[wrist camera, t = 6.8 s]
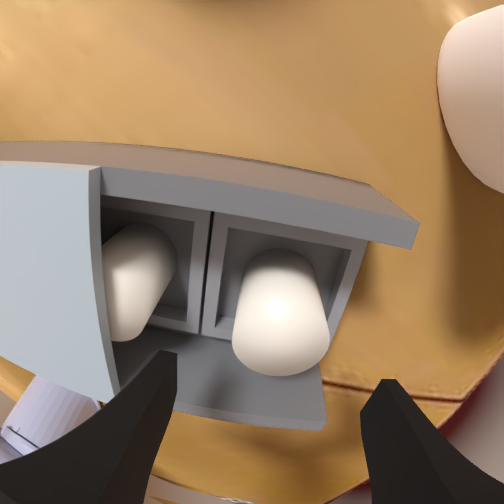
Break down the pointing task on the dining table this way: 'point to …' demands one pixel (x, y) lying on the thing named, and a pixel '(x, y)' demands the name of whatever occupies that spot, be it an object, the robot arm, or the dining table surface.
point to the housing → (230, 261)
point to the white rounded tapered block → (135, 276)
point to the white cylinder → (475, 93)
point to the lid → (55, 276)
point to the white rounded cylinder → (279, 315)
